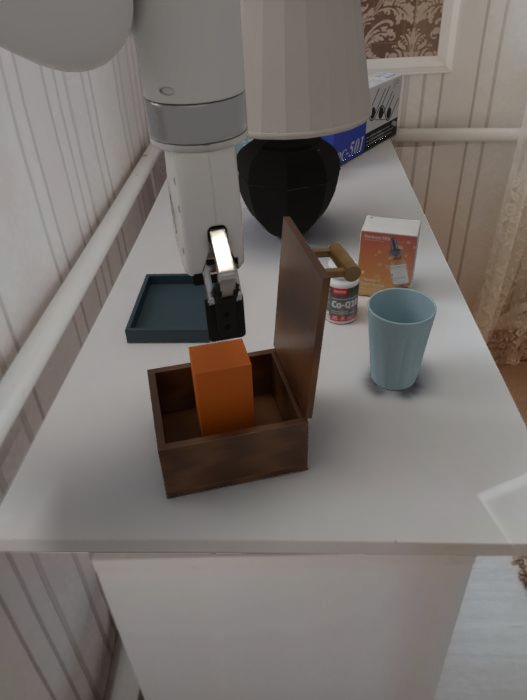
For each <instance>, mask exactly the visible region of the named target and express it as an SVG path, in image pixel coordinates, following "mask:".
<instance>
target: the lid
mask: <svg viewBox="0 0 527 700" xmlns="http://www.w3.org/2000/svg"><path fill="white" fill-rule="evenodd" d="M303 235H304V234H301V233H300V231H299V230H298V228H297V227H296V225H295V224H294V222H293V221H292V219H291V218H290V216H287V217H283V226H282V237H281V241H280V253H279V254H280V255H279V266H278V267H279V268H278V281H277V295H276V307H275V320H274V334H273V347H274V348H275V349H276V352H277V354H278V356H279V359H280V361H281V363H282V366H283V368H284V370H285V372H286V375H287V377H288V379H289V382H290V384H291V386H292V389H293V391H294V393H295V396H296V398H297V400H298V402H299V405H300V407H301V409H302V412H303V414H304V416H305V419H312V418H313V414H314V408H315V407H314V406H315V400H316V392H317V385H318V378H319V377H318V376H319V369H320V363H321V362H320V361H321V356H322V355H321V353H322V346H323V339H324V331H325V324H326V310H327V303H328V295H329V288H330V280H331V278H338V277H344V278H345V279H346V280H347V281H349V282H353V281H356V280H357V279H358V278H359V277H360V275H361V269H360V268H359V267H358V265H357V264H356V263H355V261H354V260H353V259H352V258H353V257H352V256H351V255H350V254H349V252H348V251H347V250H346V248H345V247H344V245H342V243H340V242H338V241H335V242H332V243H330V244H329V245H328V247H317V248H311V245H310V244H309V243H308V241H307V240H306V238H305V237H304V236H303ZM322 258H330V259H331V260H332V261H333V262H334V264H335V265H336V267H337V268H328V267H327V268H326V267H325V266H324V265H323V264H322V262H321V260H319V259H322Z"/></svg>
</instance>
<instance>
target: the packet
mask: <svg viewBox="0 0 527 700" xmlns="http://www.w3.org/2000/svg"><path fill="white" fill-rule="evenodd" d="M248 353H249V352H248V351H247V349H246V346H245V343H244V340H243V337H240V338H234V339H228V340H222V341H216V342H212V343H205V344H199V345H194V346H188V354H189V355H188V356H189V363H191V370H192V378H193V385H194V393H195V400H196V408H197V415H198V423H199V429H200V433H201V437H204V436H209V435H215V434H220V433H225V432H230V431H235V430H241V429H246V428H251V427H255V417H254V399H253V381H252V364H251V362H250V359H249V356H248Z"/></svg>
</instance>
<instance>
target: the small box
mask: <svg viewBox="0 0 527 700" xmlns="http://www.w3.org/2000/svg"><path fill="white" fill-rule="evenodd" d="M421 228H422V220H421V219H406V218H396V217H395V218H394V217H383V216H376V215H371V214H370V215H369V214H367V215H366V217H365V220H364V222H363V225H362V227H361V229H360V235H359V237H360V239H359V249H358V250H359V251H358V258H357V262H358V267H359V268H360V269H361V275H360V277H359V292H358V295H360V296H369V297H371V296H372V295H373V294H374V293H376V292H378V291H381V290H384V289H389V288H407V289H413V283H414V276H415V275H414V274H415V270H416V269H415V268H416V263H417V262H416V261H417V257H418V256H417V254H418V247H419V242H420V235H421Z"/></svg>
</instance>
